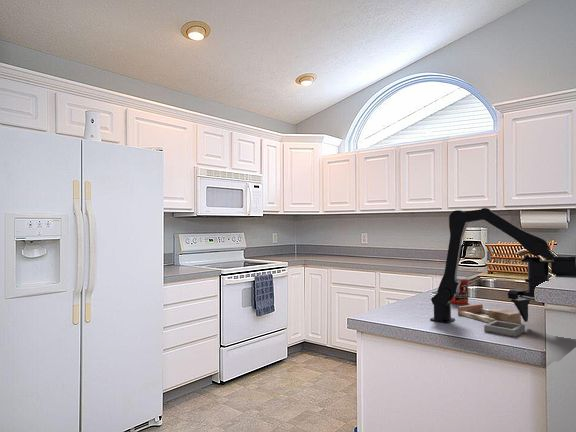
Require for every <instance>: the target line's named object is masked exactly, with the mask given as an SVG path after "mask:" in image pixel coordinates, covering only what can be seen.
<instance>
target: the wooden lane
mask: <svg viewBox="0 0 576 432" xmlns="http://www.w3.org/2000/svg"><path fill="white" fill-rule="evenodd" d="M483 306H484V305H483V304H482V303H474V304H469V305H468V304H466V305H460V306H457V315H459V316H462V317H466V318H469V319H473V320H477V321H481V322H485V323H487V324H488V323H490V322H493V321H495V319H493V318H489V316H484V315H485V314H486V315H489V310H490V309H487V308H484V307H483ZM479 313H480V314H481V313H482V314H484V315H480V314H479Z"/></svg>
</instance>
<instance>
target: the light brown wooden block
mask: <svg viewBox="0 0 576 432" xmlns="http://www.w3.org/2000/svg"><path fill="white" fill-rule="evenodd" d="M488 310H489V314H488V317H489V318H493V319H495V320H497V321H503V322H509V323H516V324H522V316H521V314H520V312H519V311H517V310H516V311H515V310H510V309H505V308H493V309H488Z"/></svg>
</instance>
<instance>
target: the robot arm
mask: <svg viewBox="0 0 576 432" xmlns="http://www.w3.org/2000/svg"><path fill="white" fill-rule="evenodd" d="M477 221H486V222H487V223H488V224H489V225H492V226H494V227H495V228H496V229H498V230H500V231H501V232H503V233H505V234H506V235H507V236H509V237H511V238H513V239H514V240H515V241H517V242H518V243H519V244H520V245H521V247H523V248H524V249H525V250H526V251H527V252H529V253H530V254H531V255H533V256H530V255H529V253H527V254H525V256H524V257H523V258H522V259H520V262H522V263H527V278H525V280H524V283H527V289H523V288H516V289H509V290H508V291H507V299H511V300H510V301H511V302H512V303H513V304H514V306H515V307H516V309H517V311H518V312H520V314H521V319H522V320H523V322H525V323H528V322H529V304H530V302H531V301H536V300H535V299H534V297H535V296H534V289H535V287H536V286H538V285H539V284H541V283H543V282H545V281H549V280H550V277H549V275H550V274H551V275H554V276H555V278H561V279H562V278H564V279H576V256H575V255H568V256H567V255H566V256H564V255H563V256H562V255H561V256H560V255H558V256H557V255H554V252H552V251H551V250H550V249H549V245H548V242H547V240H546V239H545V238H543V237H541V236H538V235H536V234H534V233H531V232H528V231H525V230H523V229H521V228H520V227H518V226H516V225H515V224H513V223H512V222H510V221H508V219H505V218H503V217H501V216H500V215H499V214H497V213H495V212H493V210H491V208H487V207H484V208H480V209H475V210H469V211H468V210H467V211H465V210H462V209H461V210H459V209H457V210H453V211H452V212H451V213H450V214H449V216H448V225H449V226H448V228H449V235H450V236H449V240H448V247H447V248H448V249H447V255H446V260H445V265H444V266H445V268H444V273H443V275H442V277H441V281H440V282H439V285H438V288H437V293H435V294H434V295H433V296H432V298H431V299H430V301H431V303H432V305H433V316H432V317H431V318H429V320H430V321H433V322H438V323H445V324H447V323H450V322H453V321H456V318H453V317H452V314H451V313H452V309H451V307H452V305H451V304H452V303H450V302H451V300H452V299H453V298H454V297H455V296H456V295H457V294H458V293H459V292H460V289H459V287H460V284H461V281H457V274H458V267H459V261H460V255H461V250H462V249H461V248H462V243H463V237H464V235H465V233H466V230H467V227H468V225H469V223H472V222H477ZM540 256H541V257H542V258H544V259H541V257H540ZM549 264H550V270H551V271H550V270H549ZM550 272H551V273H550ZM549 273H550V274H549Z"/></svg>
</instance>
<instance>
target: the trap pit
mask: <svg viewBox="0 0 576 432" xmlns="http://www.w3.org/2000/svg"><path fill="white" fill-rule="evenodd" d="M483 327H484V328H483V329H484V333H485V332H486V333H491V334H497V335H502V336H506V337H507V336H508V337H513V338H515V337H517V336H519V335H521V334H522V333H525V331H526V329H525V327H526V326H525V324H522V323H521V324H516V323H509V322H503V321H497V320H495V321H493V322H490V323H488V322H487V323H485V324H484V325H483Z"/></svg>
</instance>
